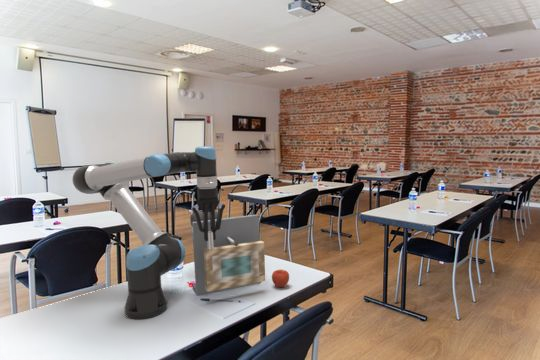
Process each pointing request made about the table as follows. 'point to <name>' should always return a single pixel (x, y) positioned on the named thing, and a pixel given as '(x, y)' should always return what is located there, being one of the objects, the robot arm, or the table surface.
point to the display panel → (222, 243)
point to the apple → (280, 278)
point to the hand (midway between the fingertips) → (210, 248)
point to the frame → (234, 265)
